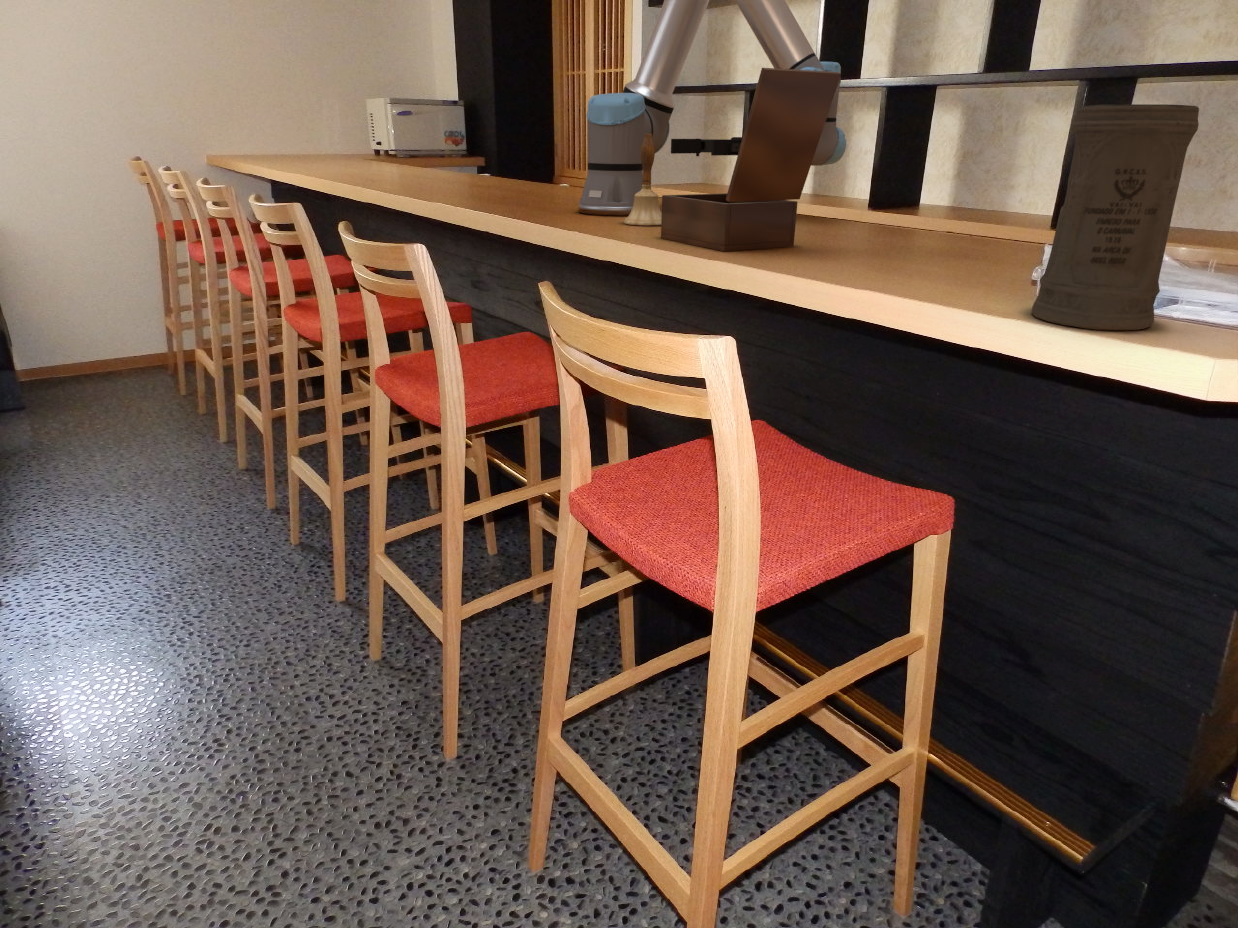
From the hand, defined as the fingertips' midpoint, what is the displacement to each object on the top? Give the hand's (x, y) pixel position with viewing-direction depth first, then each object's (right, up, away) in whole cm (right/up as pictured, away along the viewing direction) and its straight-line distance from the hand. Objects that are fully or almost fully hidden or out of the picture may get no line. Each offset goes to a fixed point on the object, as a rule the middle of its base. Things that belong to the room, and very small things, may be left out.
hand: (691, 147), depth 159 cm
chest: (+3, -24, -23) cm, 34 cm away
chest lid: (+9, -13, -39) cm, 42 cm away
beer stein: (+34, -45, -73) cm, 92 cm away
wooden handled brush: (-9, -15, +1) cm, 17 cm away
